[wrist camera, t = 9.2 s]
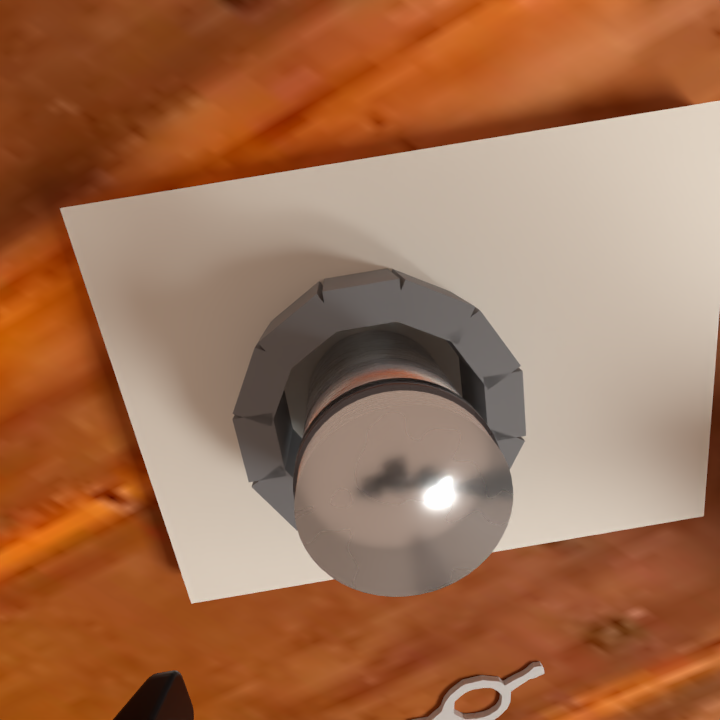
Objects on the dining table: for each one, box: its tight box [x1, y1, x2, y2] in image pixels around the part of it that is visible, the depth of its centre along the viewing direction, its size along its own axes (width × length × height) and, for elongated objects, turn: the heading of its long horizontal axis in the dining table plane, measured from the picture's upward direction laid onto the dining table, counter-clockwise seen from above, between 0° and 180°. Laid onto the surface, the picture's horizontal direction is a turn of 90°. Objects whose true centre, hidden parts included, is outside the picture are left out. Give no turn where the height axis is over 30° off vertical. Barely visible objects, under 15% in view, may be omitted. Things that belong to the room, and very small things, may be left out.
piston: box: [293, 330, 513, 597], centre depth 14 cm, size 5×5×7 cm
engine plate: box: [60, 101, 720, 603], centre depth 16 cm, size 22×16×4 cm
